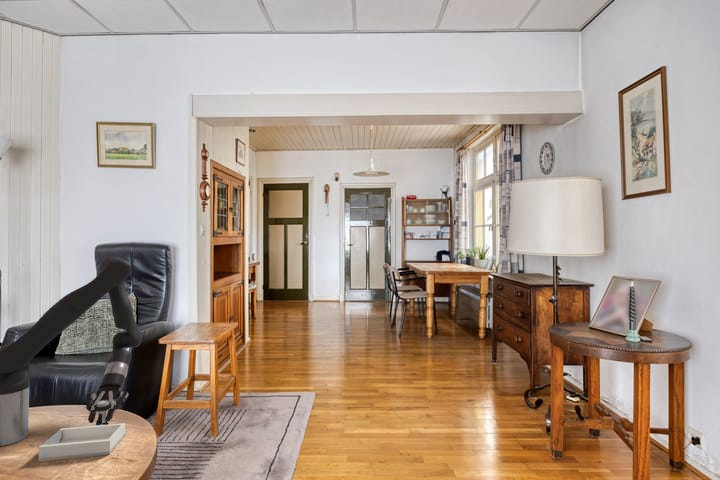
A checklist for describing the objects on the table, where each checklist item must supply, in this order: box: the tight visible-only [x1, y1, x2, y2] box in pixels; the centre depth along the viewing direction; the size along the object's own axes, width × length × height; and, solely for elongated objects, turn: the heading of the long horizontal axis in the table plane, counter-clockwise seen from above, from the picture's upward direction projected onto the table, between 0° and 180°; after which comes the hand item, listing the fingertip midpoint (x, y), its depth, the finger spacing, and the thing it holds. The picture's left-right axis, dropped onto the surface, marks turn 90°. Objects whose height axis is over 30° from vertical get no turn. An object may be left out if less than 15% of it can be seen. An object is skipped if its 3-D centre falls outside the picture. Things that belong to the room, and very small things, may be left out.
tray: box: [37, 422, 126, 462], centre depth 123 cm, size 20×12×4 cm, turn 102°
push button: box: [93, 400, 111, 426], centre depth 135 cm, size 7×5×10 cm
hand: (99, 421), depth 133 cm, fingers closed on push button, 4 cm apart
